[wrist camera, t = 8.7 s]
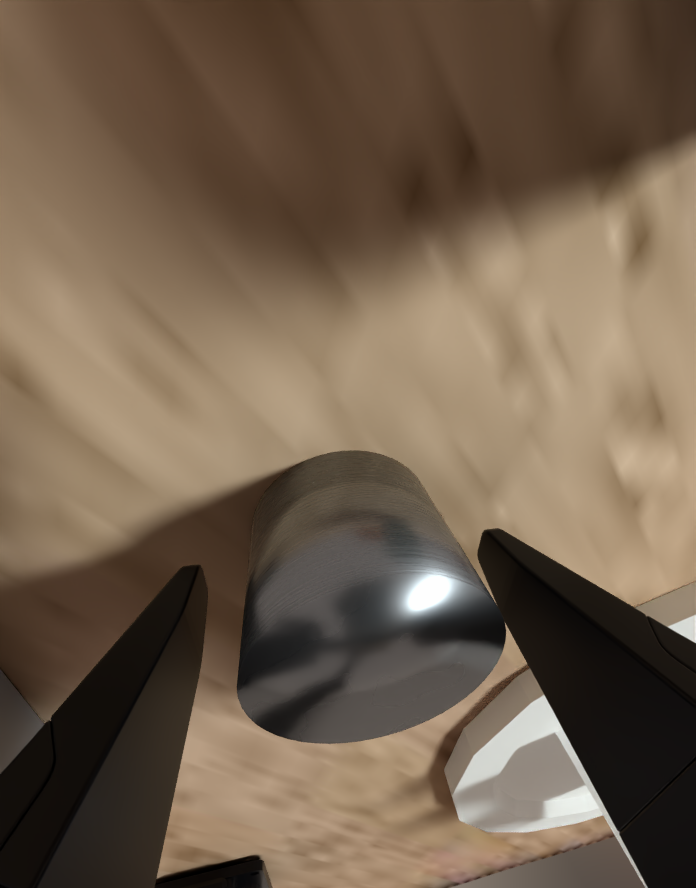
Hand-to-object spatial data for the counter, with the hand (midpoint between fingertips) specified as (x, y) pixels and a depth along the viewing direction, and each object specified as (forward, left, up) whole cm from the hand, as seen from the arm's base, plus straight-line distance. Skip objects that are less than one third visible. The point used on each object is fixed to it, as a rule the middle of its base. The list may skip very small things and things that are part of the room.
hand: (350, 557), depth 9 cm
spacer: (0, 0, -1) cm, 1 cm away
